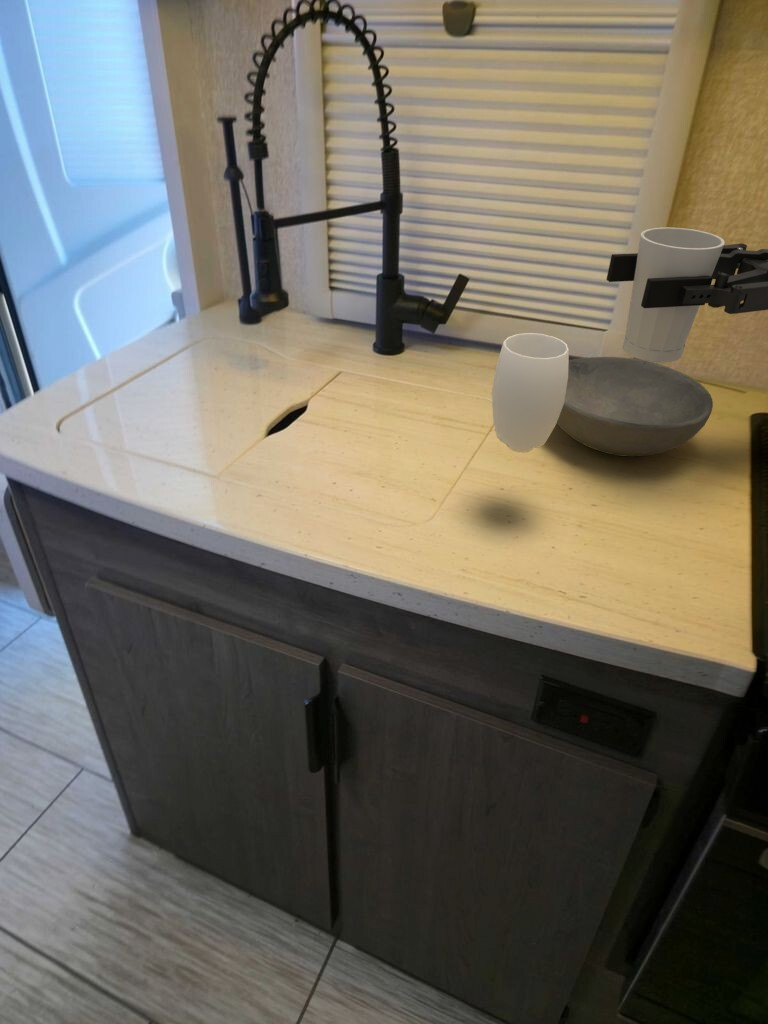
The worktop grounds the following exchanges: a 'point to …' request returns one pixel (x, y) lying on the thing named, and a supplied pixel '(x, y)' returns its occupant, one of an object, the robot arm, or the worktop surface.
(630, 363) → the bowl
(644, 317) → the cup
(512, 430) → the cup
